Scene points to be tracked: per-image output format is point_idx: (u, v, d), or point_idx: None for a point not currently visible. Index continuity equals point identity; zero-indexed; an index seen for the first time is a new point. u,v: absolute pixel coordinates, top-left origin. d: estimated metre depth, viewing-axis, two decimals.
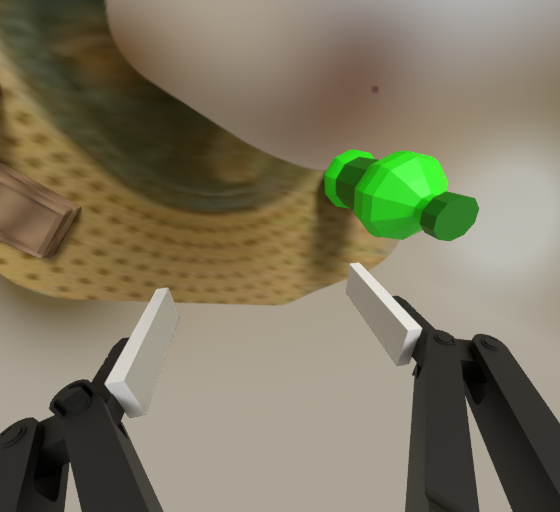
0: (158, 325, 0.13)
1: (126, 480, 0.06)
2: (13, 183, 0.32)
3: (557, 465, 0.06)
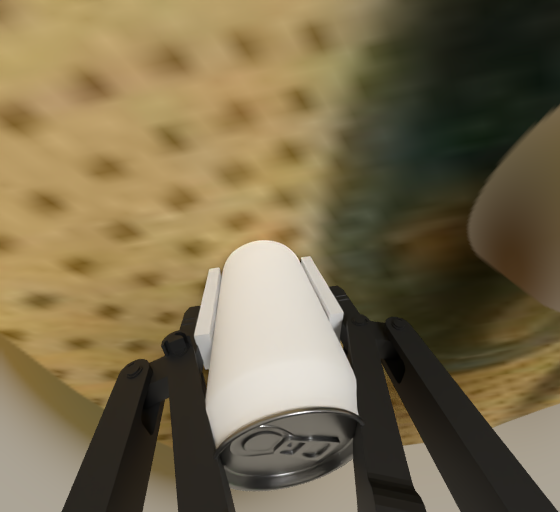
0: (218, 297, 0.15)
1: (203, 425, 0.08)
2: None
3: (464, 425, 0.07)
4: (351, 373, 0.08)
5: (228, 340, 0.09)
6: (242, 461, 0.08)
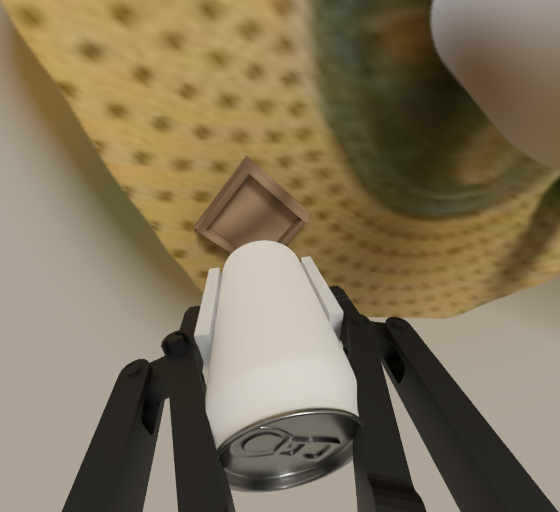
0: (218, 297, 0.15)
1: (204, 425, 0.08)
2: (273, 186, 0.27)
3: (464, 425, 0.07)
4: (351, 374, 0.08)
5: (228, 341, 0.09)
6: (242, 462, 0.08)
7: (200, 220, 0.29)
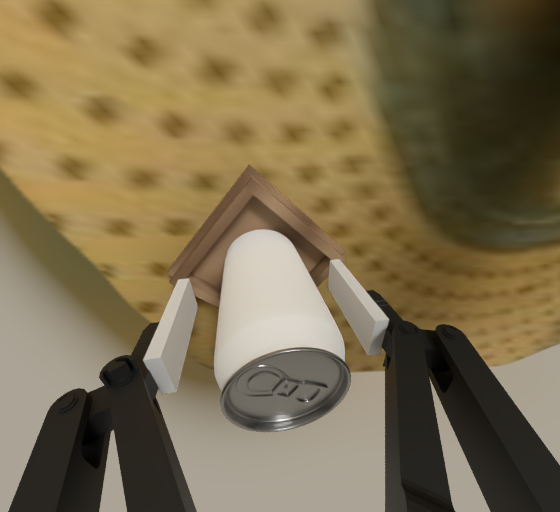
0: (183, 312, 0.14)
1: (159, 453, 0.07)
2: (291, 214, 0.17)
3: (516, 445, 0.07)
4: (338, 331, 0.10)
5: (234, 304, 0.11)
6: (245, 401, 0.09)
7: (176, 263, 0.19)
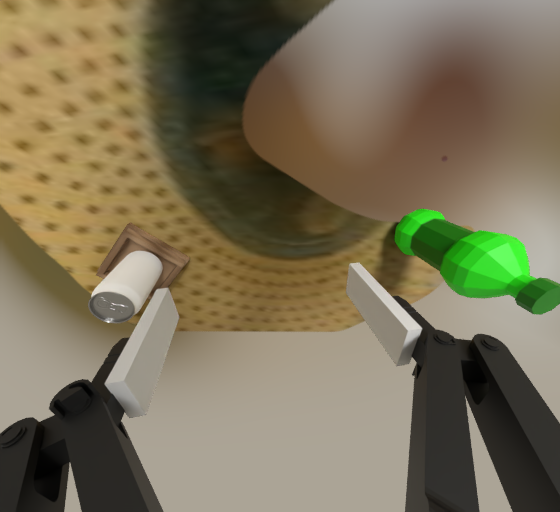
0: (158, 325, 0.13)
1: (126, 480, 0.06)
2: (148, 244, 0.38)
3: (557, 465, 0.06)
4: (133, 289, 0.31)
5: None
6: (100, 310, 0.31)
7: (101, 266, 0.40)
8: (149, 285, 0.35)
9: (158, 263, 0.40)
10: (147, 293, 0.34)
